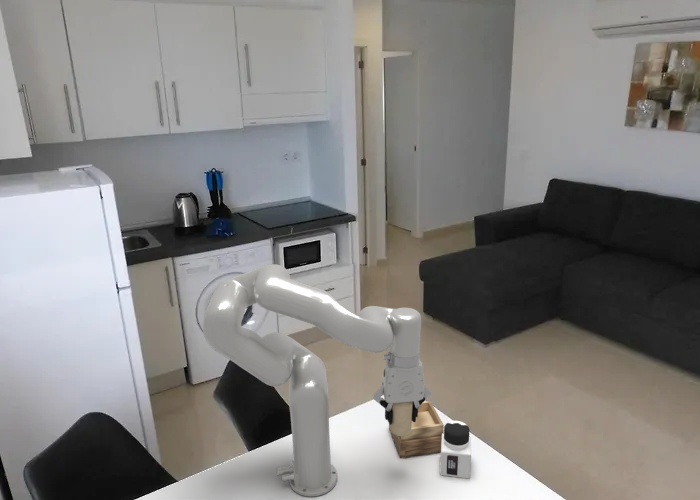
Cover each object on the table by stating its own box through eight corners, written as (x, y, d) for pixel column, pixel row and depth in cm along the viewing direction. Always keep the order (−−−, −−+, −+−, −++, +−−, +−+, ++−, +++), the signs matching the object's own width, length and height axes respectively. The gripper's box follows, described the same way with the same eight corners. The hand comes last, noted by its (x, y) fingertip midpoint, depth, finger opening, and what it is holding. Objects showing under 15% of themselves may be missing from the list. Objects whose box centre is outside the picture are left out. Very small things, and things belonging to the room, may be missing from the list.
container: (470, 479, 136) (472, 437, 132) (440, 475, 138) (441, 433, 134) (469, 459, 143) (471, 418, 140) (441, 456, 145) (442, 415, 141)
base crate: (400, 458, 144) (400, 443, 143) (389, 429, 157) (389, 415, 155) (445, 452, 146) (446, 437, 145) (430, 423, 159) (430, 409, 157)
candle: (388, 423, 138) (389, 390, 135) (408, 422, 138) (410, 389, 135) (392, 437, 132) (393, 402, 130) (413, 435, 133) (415, 401, 130)
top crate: (401, 441, 144) (401, 430, 143) (391, 415, 155) (390, 405, 154) (443, 435, 146) (443, 425, 145) (429, 410, 157) (430, 400, 156)
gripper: (373, 367, 124) (371, 432, 130) (442, 362, 127) (437, 425, 132) (366, 352, 131) (365, 414, 137) (432, 347, 134) (428, 408, 139)
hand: (401, 419), depth 134 cm, fingers closed on candle, 5 cm apart
